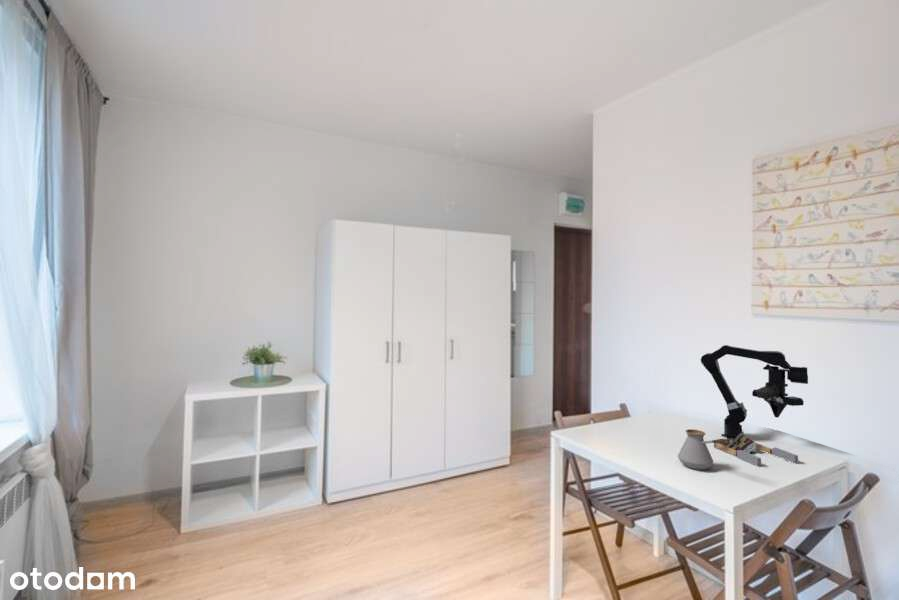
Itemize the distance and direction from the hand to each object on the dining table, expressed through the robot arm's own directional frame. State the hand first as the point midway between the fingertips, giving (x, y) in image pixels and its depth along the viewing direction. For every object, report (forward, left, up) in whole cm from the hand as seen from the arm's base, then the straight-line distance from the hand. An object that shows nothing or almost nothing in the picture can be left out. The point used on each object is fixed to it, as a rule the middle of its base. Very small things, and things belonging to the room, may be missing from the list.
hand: (776, 417), depth 180 cm
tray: (+3, -20, -12) cm, 24 cm away
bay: (+14, -20, -12) cm, 27 cm away
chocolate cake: (+4, -21, -12) cm, 25 cm away
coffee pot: (+19, -51, -12) cm, 56 cm away
